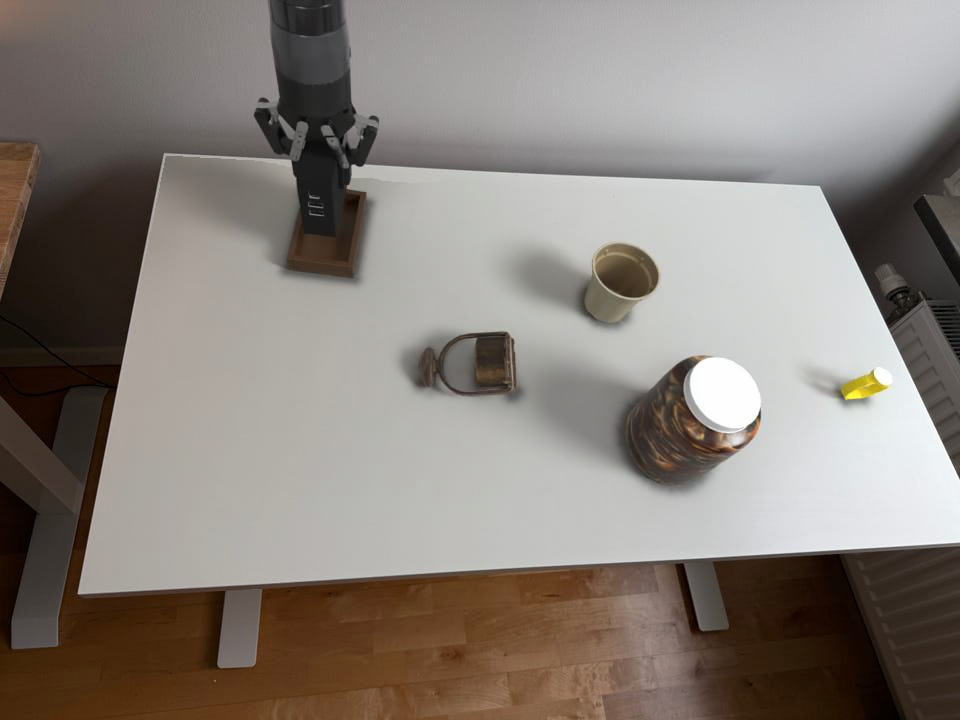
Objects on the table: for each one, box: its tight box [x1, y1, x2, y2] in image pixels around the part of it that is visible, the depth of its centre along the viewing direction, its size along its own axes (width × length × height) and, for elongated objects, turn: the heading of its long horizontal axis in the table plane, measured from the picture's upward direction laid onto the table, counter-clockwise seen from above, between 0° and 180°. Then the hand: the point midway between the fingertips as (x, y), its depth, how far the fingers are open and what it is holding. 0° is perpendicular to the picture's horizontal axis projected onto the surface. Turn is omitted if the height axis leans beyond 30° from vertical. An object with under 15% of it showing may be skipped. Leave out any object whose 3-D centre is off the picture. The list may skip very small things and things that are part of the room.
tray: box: [286, 188, 368, 279], centre depth 84 cm, size 9×14×2 cm, turn 177°
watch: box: [839, 366, 893, 401], centre depth 83 cm, size 6×3×6 cm, turn 99°
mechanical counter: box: [418, 330, 517, 397], centre depth 75 cm, size 7×13×10 cm
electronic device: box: [295, 140, 348, 237], centre depth 76 cm, size 4×10×10 cm, turn 178°
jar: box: [623, 354, 762, 487], centre depth 71 cm, size 12×12×15 cm
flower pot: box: [583, 241, 662, 324], centre depth 83 cm, size 9×9×9 cm
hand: (323, 180), depth 75 cm, fingers closed on electronic device, 4 cm apart
